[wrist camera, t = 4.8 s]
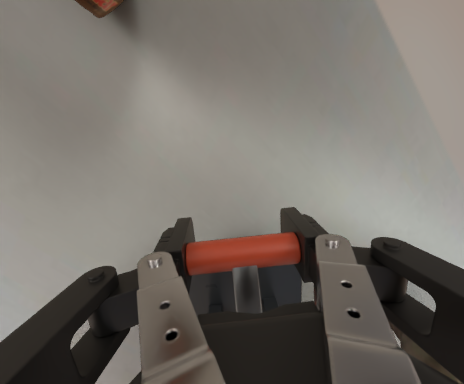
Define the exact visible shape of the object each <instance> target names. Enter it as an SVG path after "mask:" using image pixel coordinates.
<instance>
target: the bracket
mask: <svg viewBox="0 0 464 384" xmlns="http://www.w3.org/2000/svg"><path fill="white" fill-rule="evenodd" d="M257 269H258V278H259V287H260V295H261V304H262V312H265V311H268V310H271V309H274V308H276V307H279V306H282V305H285V304H292V303H301V286H302V278H301V276H300V274H299V272H298V271H297V269H296V267H295V265H294V264H290V265H281V266H272V267H263V268H257ZM189 297H190V300H191V302H192V305H193V307H194V310H195V313H196V315H197V318H198V314H206V313H215V312H224V311H231V312H236V304H235V294H234V283H233V273H232V271H227V272H218V273H209V274H200V275H192V279H191V285H190V291H189Z"/></svg>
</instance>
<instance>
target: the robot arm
mask: <svg viewBox="0 0 464 384" xmlns="http://www.w3.org/2000/svg"><path fill="white" fill-rule="evenodd" d="M280 214H281V233H286V232H294V233H295V234H296V236H297V238H298V240H299V244H300V250H301V260H300V262H299V263H298V264H294V265H295V267H296V269H297V271H298V272H299V274H300V276H301V278H302V280H303V281H304V283H306V282H313V283H314V301H310V302H301V303H292V304H285V305H282V306H279V307H276V308H274V309H271V310H268V311H265V312H262V313H259V314H252V313H241V312H231V311H224V312H215V313H206V314H198V318H197V315H196V313H195V310H194V307H193V305H192V302H191V300H190V297H189V291H190V285H191V279H192V275H189V274H188V272H187V268H186V246H187V244H188V243H191V242H195V236H194V229H193V222H192V218H191V217H189V218H179V219H178V220H177V222H176V224H175V227H174V228H168V229H167V230H166V231H165V232H163V234H162V236H161V239H160V240H159V243H158V244H157V246H156V248H155V250H154V252H153V253H151V254H148V255H146V256H145V257H143V258H142V259H141V260H140V261H139V262H138V264H137V269H135V270H133V271H130V272H126V273H123V274H119V275H117V272H116V269H115V268H114V267H112V266H103V267H98V268H95V269H93V270H90V271H88V272H86V273H85V274H83V275H82V276H81V277H79V278H78V279H77V280H76V281H75V282H73V283H72V284H71V285H70V286H68V287H67V288H66V289H65V290H64V291H62V292H61V293H60V294H59V295H58V296H56V297H55V298H54V299H53V300H51V301H50V302H49V303H48V304H47V305H45V306H44V307H43V308H42V309H40V310H39V311H38V312H37V313H36V314H34V315H33V316H32V317H31V318H30V319H28V320H27V321H26V322H25V323H23V324H22V325H21V326H20V327H19V328H17V329H16V330H15V331H14V332H12V333H11V334H10V335H9V336H8V337H6V338H5V339H4V340H3V341H2V342H0V384H95V382H96V381H97V379H98V378H99V376H100V375H101V373H102V372H103V370H104V369H105V367H106V366H107V364H108V363H109V361H110V360H111V358H112V357H113V355H114V354H115V352H116V351H117V349H118V348H119V346H120V345H121V343H122V342H123V340H124V339H125V337H126V336H127V334H128V333H129V331H130V328H131V327H133V326H135V325H138V324H139V338H140V354H141V371H140V373H139V374H138V375H137V376H136V377H135V378H134V379H133V380H132V381H131V382H130V383H129V384H460V383H458V382H456V381H454V380H453V379H451V378H449V377H448V376H446V375H444V374H442V373H441V372H439V371H437V370H436V369H434V368H432V367H431V366H429V365H427V364H425V363H424V362H422V361H420V360H419V359H417V358H415V357H413V356H412V355H410V354H408V353H407V352H406V351H404V350H403V349H401V348H400V347H399V346H398V344H397V342H396V339H395V337H394V334H393V332H392V329H391V327H390V324H389V322H388V321H390V322H391V323H392V324H393V325H394V326H395V327H397V328H398V329H399V330H400V331H401V332H403V333H404V334H405V335H406V336H407V337H408V338H410V339H411V340H412V341H413V342H414V343H416V344H417V345H418V346H419V347H420V348H421V349H423V350H424V351H425V352H426V353H427V354H429V355H430V356H431V357H432V358H433V359H434V360H436V361H437V362H438V363H439V364H440V365H442V366H443V367H444V368H445V369H446V370H447V371H449V372H450V373H451V374H452V375H453V376H455V377H456V378H457V379H458V380H459V381H460V382H462V383H463V384H464V269H462V268H460V267H457V266H455V265H453V264H451V263H449V262H447V261H444V260H442V259H440V258H438V257H436V256H434V255H432V254H429V253H427V252H425V251H423V250H421V249H419V248H416V247H414V246H412V245H410V244H408V243H406V242H403V241H401V240H398V239H394V238H388V237H379V238H375V239H373V240H372V241H371V248H362V247H352V246H351V244H350V242H349V241H348V240H347V239H346V238H344V237H342V236H339V235H334V234H328V233H327V232H326V231H325V230H324V229H323V228H322V227H321V226H320V225H319V224H318V223H317V222H316V221H315V220H314V219H313V218H312V217H310V216H307V215H305V214H303V215H302V214H301V213H300V212H299V211H298V210H297V209H296V208H295V207H291V208H282V209H281V213H280ZM408 280H409V281H410V282H412V283H414V284H415V285H417V286H418V287H420V288H422V289H423V290H425V291H426V292H428V293H429V294H430V295H431V296H432V297H433V299H434V301H435V303H436V310H435V312H433V311H432V310H430V309H429V308H427V307H426V306H424V305H423V304H421V303H420V302H418V301H417V300H415V299H414V298H412V297H411V296H409V295H408V294H406V290H407V284H408ZM87 319H88V322H89V325H90V329H89V330H88V331H87V332H86V333H85V334H84V335H83V337H82V338H81V339H80V340H79V341H78V342H77V343H76V345H75V346H74V347H73V348H72V349H71V350H70V344H71V340H72V338H73V336H74V334H75V333H76V331H77V330H78V329H79V328H80V327H81V326H82V325H83V324H84V323H85V321H86V320H87Z"/></svg>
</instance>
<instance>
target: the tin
mask: <svg viewBox="0 0 464 384" xmlns="http://www.w3.org/2000/svg"><path fill="white" fill-rule="evenodd" d="M75 1H76V2H77V3H79V4H80V5H81V6H83V7H84V8H85V9H87V10H88V11H90V12H91V13H93V15H95V16H96V17H97V18H102V17H104V16H106V15H107V14H109V13H110V12H112V11H113V10H114V9H115V8H116V7H117V6H119V5H120V4H121V3H122V2H123V1H124V0H75Z"/></svg>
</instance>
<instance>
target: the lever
mask: <svg viewBox="0 0 464 384" xmlns="http://www.w3.org/2000/svg"><path fill="white" fill-rule="evenodd" d="M300 260H301V250H300V244H299V240H298V238H297V236H296V234H295V233H294V232H286V233H277V234H267V235H258V236H248V237H239V238H229V239H220V240H210V241H201V242H191V243H188V244H187V246H186V268H187V272H188V274H189V275H200V274H209V273H218V272H227V271H232V273H233V283H234V294H235V304H236V312H241V313H252V314H259V313H262V304H261V295H260V287H259V278H258V269H257V268H263V267H272V266H281V265H290V264H298V263H299V262H300Z"/></svg>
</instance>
